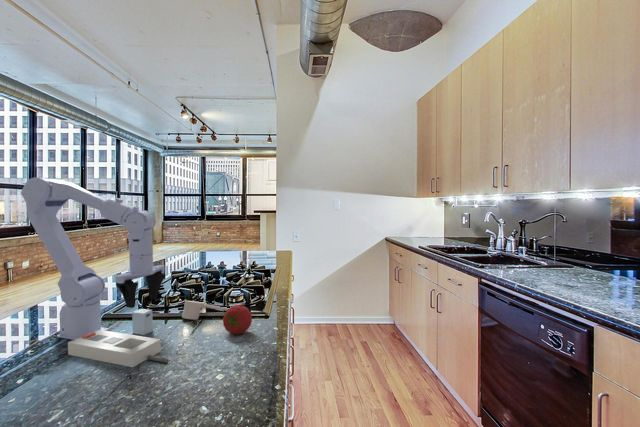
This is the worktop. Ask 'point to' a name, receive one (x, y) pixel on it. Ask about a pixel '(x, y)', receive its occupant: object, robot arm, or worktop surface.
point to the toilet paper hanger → (197, 309)
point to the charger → (142, 321)
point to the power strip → (116, 348)
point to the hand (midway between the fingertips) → (142, 302)
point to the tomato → (237, 319)
